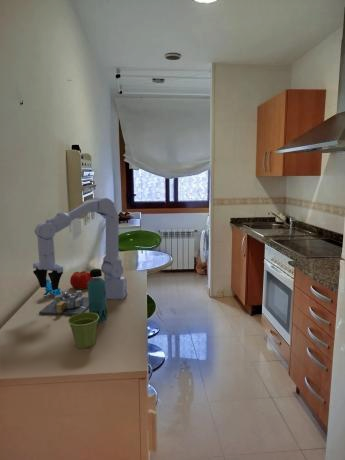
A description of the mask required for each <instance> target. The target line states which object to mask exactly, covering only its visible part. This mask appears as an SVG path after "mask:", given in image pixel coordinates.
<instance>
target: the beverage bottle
mask: <svg viewBox="0 0 345 460" xmlns="http://www.w3.org/2000/svg"><path fill="white" fill-rule="evenodd" d="M89 272H90V277H93V278H92V279H90V280H89V281H88V283H87V285H88V287H87V297H88V300H89V308H88V312H91V313H96V314H98V315H99V320H98V323H97V324H102V323H104V322H106V321H107V319H108V309H107V307H108V306H107V299H106V291H105V289H106V288H105V281H104V278H101V277H102V276H103V274H102V273H103V272H102V270H101V269H100V268H94V269H90V270H89Z"/></svg>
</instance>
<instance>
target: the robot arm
mask: <svg viewBox="0 0 345 460" xmlns="http://www.w3.org/2000/svg"><path fill="white" fill-rule="evenodd" d="M88 213H97V214H99V215H101V216H102V217H103V218H104V219H105V256H104V257H103V258H102V264H101V267H100V268H101V269H100V270H101V273H103V280H104V281H105V288H106V289H105V291H106V300H125V299H124V298H125V297H126V296H127V294H128V285H127V284H128V282H127V278H126V277H125V276H122V275H124V266H123V264H122V263H123V262H122V259H121V258H120V255H119V228H120V227H119V226H120V225H119V223H120V222H119V221H120V220H119V212H118V211H117V209H116V206H115V202H113V200H111V198H108V197H93V198H91V199H88V200H87V201H85V202H84V203H81V205H79V206H77V207H75V208H74V209H73V210H70V211H69V212H67V213H66V212H57V213H56V215H55V216H54V217H51V218H50V219H49V218H47V219H45V222H39V223H37V225H36V226H35V228H34V229H35V230H34V234H35V236H36V237H37V249H38V250H37V251H38V261H39V262H35V263H33V264H32V269H35V270H32V272H33V274H34V276H35V277H36V279H37V281H38V284H39V286H40V288H44V287H46V280H47V276H48V277H49V280H50V283H51V285H52V290H56V289H58V288H59V286H60V285H59V284H60V281H61V278H62V276H63V273H64V267H63V266H60V265H58V264H56V254H55V242H54V237H55V235H56V234H57V233H58V232H61V231H62V230H63V229H65V228H68V227H69V226H71V224H72V222H73V221H74V220H75V219H77V218H80V217H82V216H83V215H85V214H88ZM48 271H49V272H48Z"/></svg>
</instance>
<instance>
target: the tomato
mask: <svg viewBox="0 0 345 460" xmlns="http://www.w3.org/2000/svg"><path fill="white" fill-rule="evenodd" d="M92 278H94V277H90V271H86V270H81V271H75V272H73V273H72V275H71V276H70V280H69V282H70V285H71V287H73V288H74V289H78V290H85V289H87V288H88V285H87V283H88V281H89V280H90V279H92Z"/></svg>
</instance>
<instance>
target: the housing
mask: <svg viewBox="0 0 345 460" xmlns="http://www.w3.org/2000/svg"><path fill="white" fill-rule="evenodd" d="M74 293H75V292H68V293H66V294H63V295H62V294H61V295H62V296H61V297H62V301H70V296H75V297H76V294H74Z"/></svg>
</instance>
